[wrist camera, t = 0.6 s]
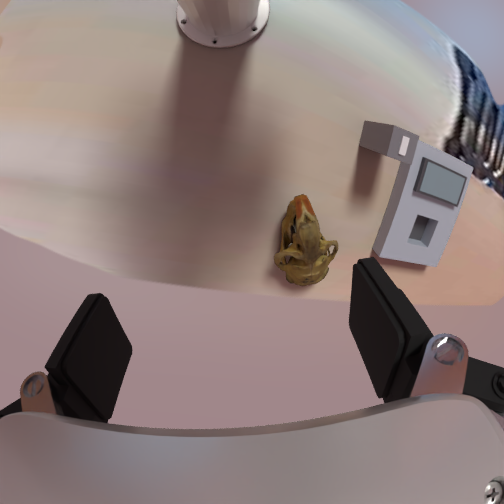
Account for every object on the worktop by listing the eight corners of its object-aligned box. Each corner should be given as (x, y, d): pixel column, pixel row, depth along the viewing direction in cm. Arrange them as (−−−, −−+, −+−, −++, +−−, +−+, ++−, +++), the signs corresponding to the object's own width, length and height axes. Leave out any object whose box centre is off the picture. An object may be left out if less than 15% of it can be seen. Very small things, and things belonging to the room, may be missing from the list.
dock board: (407, 136, 37) (421, 140, 33) (463, 163, 39) (476, 169, 35) (372, 248, 46) (381, 259, 43) (428, 259, 48) (438, 269, 44)
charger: (364, 120, 36) (395, 125, 28) (387, 128, 36) (420, 136, 28) (358, 145, 38) (387, 156, 30) (381, 152, 38) (412, 165, 30)
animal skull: (315, 165, 36) (348, 218, 30) (321, 234, 49) (343, 282, 43) (249, 186, 37) (269, 245, 31) (270, 252, 49) (287, 302, 43)
